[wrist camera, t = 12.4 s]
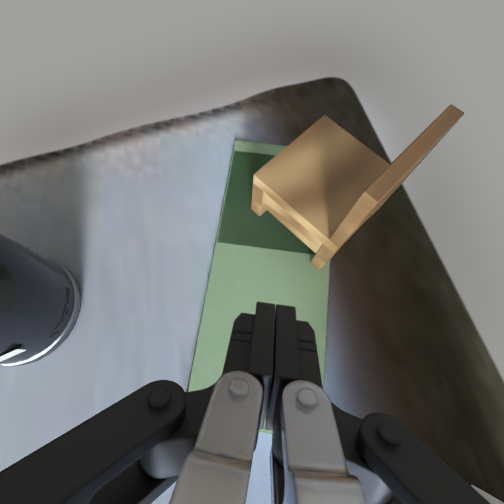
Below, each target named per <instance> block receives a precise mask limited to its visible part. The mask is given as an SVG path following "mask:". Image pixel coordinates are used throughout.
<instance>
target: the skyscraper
mask: <svg viewBox="0 0 504 504" xmlns="http://www.w3.org/2000/svg"><path fill="white" fill-rule="evenodd" d="M471 486H472V487H473V488H474V489H475V490H476V491H477V492H478V493H479V494H481V495H482V496H483V497H484V498H485V499H486V500H487V501H488V502H489V503H490V504H504V503H503V502H502V501H500V500H498V499H496V498H495V497H493V496H491V495H489V494H488V493H486V492H484V491H482V490H481V489H479V488H477V487H475V486H474V485H471Z"/></svg>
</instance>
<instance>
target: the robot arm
mask: <svg viewBox="0 0 504 504" xmlns="http://www.w3.org/2000/svg"><path fill="white" fill-rule="evenodd" d="M80 306H81V293H80V288H79V285H78V282H77V280H76V278H75V277H74V275H73V274H72V273H71V272H70V271H69V270H68V269H67V268H66V267H65V266H63V265H61V264H59V263H58V262H56V261H54V260H51V259H49V258H46V257H44V256H42V255H40V254H38V253H36V252H34V251H33V250H31V249H29V248H27V247H25V246H23V245H21V244H19V243H17V242H15V241H13V240H11V239H9V238H8V237H6V236H4V235H2V234H0V365H3V366H4V365H24V364H28V363H31V362H34V361H37V360H39V359H41V358H43V357H45V356H47V355H48V354H50V353H51V352H52V351H54V350H55V349H56V348H57V347H58V346H60V345H61V344H62V343H63V341H64V340H65V339H66V338H67V337H68V335H69V334H70V332H71V331H72V329H73V327H74V325H75V323H76V321H77V318H78V315H79V312H80ZM265 416H266V423H265V430H272V431H273V434H272V447H271V452H270V476H271V503H272V504H490V503H489V502H488V501H487V500H486V499H485V498H484V497H483V496H482V495H481V494H479V493H478V492H477V491H476V490H475V489H474V488H473V487H472V486H471V485H470V484H468V483H467V482H466V481H465V480H464V479H463V478H462V477H461V476H460V475H459V474H458V473H456V472H455V471H454V470H453V469H452V468H451V467H450V466H449V465H448V464H447V463H445V462H444V461H443V460H442V459H441V458H440V457H439V456H438V455H437V454H436V453H434V452H433V451H432V450H431V449H430V448H429V447H428V446H427V445H426V444H425V443H424V442H422V441H421V440H420V439H419V438H418V437H417V436H416V435H415V434H414V433H413V432H411V431H410V430H409V429H408V428H407V427H406V426H405V425H404V424H403V423H401V422H400V421H399V420H397V419H396V418H394V417H392V416H390V415H387V414H384V413H370V414H368V415H366V416H365V417H364V418H363V420H362V419H360V418H358V417H356V416H353V415H351V414H349V413H347V412H345V411H343V410H341V409H339V408H338V407H336V406H335V405H334V404H333V403H332V402H331V401H330V398H329V397H328V395H327V393H326V392H325V391H324V390H323V386H322V380H321V373H320V366H319V359H318V353H317V345H316V338H315V331H314V330H313V328H312V327H311V326H310V324H309V323H308V322H307V321H299V320H296V308H295V307H294V306H287V305H280V304H276V309H275V304H272V303H265V302H257V304H256V311H255V314H248V313H241V314H240V315H239V316H238V317H237V318H236V319H235V320H234V323H233V328H232V332H231V336H230V341H229V345H228V350H227V354H226V359H225V363H224V367H223V372H222V375H221V376H220V378H219V379H218V380H217V382H216V383H214V384H213V385H212V386H210V387H208V388H205V389H202V390H197V391H190V392H184V390H183V389H182V387H181V386H180V385H178V384H177V383H175V382H172V381H168V380H158V381H154V382H151V383H149V384H147V385H145V386H143V387H142V388H140V389H138V390H137V391H135V392H133V393H132V394H130V395H128V396H127V397H125V398H123V399H122V400H120V401H118V402H117V403H115V404H113V405H111V406H110V407H108V408H106V409H105V410H103V411H101V412H100V413H98V414H96V415H95V416H93V417H91V418H90V419H88V420H86V421H85V422H83V423H81V424H80V425H78V426H76V427H75V428H73V429H71V430H70V431H68V432H66V433H65V434H63V435H61V436H60V437H58V438H56V439H55V440H53V441H51V442H50V443H48V444H46V445H45V446H43V447H41V448H40V449H38V450H36V451H34V452H33V453H31V454H29V455H28V456H26V457H24V458H23V459H21V460H19V461H18V462H16V463H14V464H13V465H11V466H9V467H8V468H6V469H4V470H3V471H1V472H0V504H151V503H152V502H153V501H154V500H155V499H156V498H157V497H159V496H160V495H161V494H162V493H163V492H164V491H165V490H166V489H168V488H169V487H170V486H171V485H172V484H173V483H174V482H175V481H176V480H177V482H176V485H175V488H174V491H173V494H172V496H171V499H170V502H169V504H245V502H246V496H247V490H248V484H249V477H250V471H251V465H252V458H253V452H254V451H255V448H256V444H257V438H258V433H259V429H263V427H264V421H265Z"/></svg>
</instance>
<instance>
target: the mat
mask: <svg viewBox="0 0 504 504" xmlns="http://www.w3.org/2000/svg"><path fill="white" fill-rule="evenodd" d="M286 147H287V146H281V145H272V144H263V143H254V142H246V141H237V140H235V144H234V150H233V155H232V160H231V165H230V171H229V176H228V181H227V187H226V192H225V197H224V202H223V208H222V213H221V218H220V224H219V229H218V234H217V239H216V245H215V250H214V255H213V261H212V266H211V271H210V277H209V282H208V287H207V292H206V298H205V303H204V308H203V314H202V319H201V324H200V329H199V335H198V340H197V345H196V351H195V356H194V361H193V367H192V372H191V377H190V382H189V388H188V392H190V391H197V390H202V389H205V388H208V387H210V386H212V385H213V384H214V383H216V382H217V380H218V379H219V378H220V376H221V375H222V372H223V367H224V363H225V359H226V354H227V350H228V345H229V341H230V336H231V332H232V328H233V323H234V320H235V319H236V318H237V317H238V316H239V315H240V314H241V313H248V314H255V311H256V304H257V302H265V303H272V304H275V309H276V304H280V305H287V306H294V307H295V308H296V320H299V321H307V322H308V323H309V324H310V326H311V327H312V328H313V330H314V331H315V338H316V345H317V353H318V359H319V366H320V373H321V380H322V386H323V387H324V368H325V349H326V330H327V311H328V292H329V273H330V260H329V261H328V263H327V264H326V265H325V266H324V267H323V268H322V269H321V270H320V271H319V270H318V269H317V268H316V267H315V266H314V265H312V264H311V263H310V262H311V260H312V259H313V257H314V256H315V254H316V253H315V252H314V251H312V250H311V249H310V248H309V247H308V246H307V245H306V244H305V243H303V242H302V241H301V240H300V239H299V238H298V237H297V236H296V235H294V234H293V233H292V232H291V231H290V230H289V229H288V228H287V227H286V226H284V225H283V224H282V223H281V222H280V221H279V220H278V219H277V218H275V217H274V216H273V215H272V214H271V213H270V212H269V211H268V210H266V211H265V212H264V213H263V214H262V215H261V216H260V217H259V216H258V215H257V214H256V213H255V212H254V211H253V210H251V203H252V190H253V177H254V174H255V173H256V172H257V171H258V170H260V169H261V168H262V167H263V166H264V165H266V164H267V163H268V162H269V161H270V160H271V159H273V158H274V157H275V156H276V155H277V154H279V153H280V152H281V151H282V150H283V149H285V148H286ZM265 423H266V416H265V421H264V427H263V429H259V432H263V433H270V434H273V431H272V430H265Z"/></svg>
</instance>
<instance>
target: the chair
mask: <svg viewBox="0 0 504 504" xmlns="http://www.w3.org/2000/svg"><path fill="white" fill-rule="evenodd" d="M463 115H464V112H462V111H461V110H459V109H458V108H456V107H455V106H453V105H450V106H449V107H448V108H447V109H446V110H445V111H444V112H443V113H442V114H441V115H440V116H439V117H437V119H436V120H434V122H432V123H431V124H430V125H429V126H428V128H426V129H425V131H424V132H422V133H421V134H420V136H418V137H417V139H415V140H414V141H413V142H412V144H410V145H409V146H408V147H407V149H405V150H404V152H403V153H401V154H400V155H399V156H398V157H397V158H396V159H395V160H394V161H393V162H392V163H391V164H389V163H387V162H386V161H385V160H383V159H382V158H381V157H379V156H378V155H377V154H375V153H374V152H373V151H371V150H370V149H369V148H367V147H366V146H365V145H364V144H362V143H361V142H360V141H358V140H357V139H356V138H354V137H353V136H352V135H350V134H349V133H348V132H346V131H345V130H344V129H342V128H341V127H340V126H338V125H337V124H336V123H335V122H333V121H332V120H331V119H329V118H328V117H327V116H325V115H324V116H323V117H321V118H320V119H319V120H318V121H317V122H315V123H314V124H313V125H312V126H311V127H310V128H308V129H307V130H306V131H305V132H304V133H302V134H301V135H300V136H299V137H298V138H296V139H295V140H294V141H293V142H292V143H291V144H289V145H288V146H287V147H286V148H285V149H283V150H282V151H281V152H280V153H279V154H277V155H276V156H275V157H274V158H273V159H271V160H270V161H269V162H268V163H267V164H266V165H264V166H263V167H262V168H261V169H260V170H258V171H257V172H256V173H255V174H254V177H253V190H252V203H251V210H253V211H254V212H255V213H256V214H257V215H258V216H259V217H260V216H261V215H262V214H263V213H264V212H265V211H266V210H268V211H269V212H270V213H271V214H272V215H273V216H274V217H275V218H277V219H278V220H279V221H280V222H281V223H282V224H283V225H284V226H286V227H287V228H288V229H289V230H290V231H291V232H292V233H293V234H294V235H296V236H297V237H298V238H299V239H300V240H301V241H302V242H303V243H305V244H306V245H307V246H308V247H309V248H310V249H311V250H312V251H314V252H315V253H316V254H315V256H314V257H313V259H312V260H311V262H310V263H311V264H312V265H314V266H315V267H316V268H317V269H318V270H319V271H320V270H321V269H322V268H323V267H324V266H325V265H326V264H327V263H328V261H329V260H330V259H331V258H332V257H333V256H334V255H335V253H336V252H337V251H338V250H339V249H340V248H341V246H342V245H343V244H344V243H345V242H346V241H347V240H348V239H349V238H350V237H351V236H352V235H353V234H354V233H355V232H356V231H357V230H358V229H359V228H360V226H361V225H362V224H363V223H364V222H365V221H366V220H367V219H368V218H371V217H372V216H373V215H374V214H375V213H376V211H377V210H378V209H379V208H380V207H381V206H382V205H383V204H384V203H385V201H386V200H387V199H388V198H389V197H390V196H391V195H392V194H393V193H394V191H395V190H396V189H397V188H398V187H399V186H400V185H401V184H402V183H403V181H404V180H405V179H406V178H407V177H408V176H409V175H410V174H411V172H412V171H413V170H414V169H415V168H416V167H417V166H418V165H419V164H420V162H421V161H422V160H423V159H424V158H425V157H426V156H427V154H428V153H429V152H430V151H431V150H432V149H433V148H434V147H435V146H436V145H437V144H438V142H439V141H440V140H441V139H442V138H443V137H444V136H445V134H446V133H447V132H448V131H449V130H450V129H451V128H452V126H454V125H455V123H456V122H457V121H458V120H459V119H460V118H461V117H462V116H463Z"/></svg>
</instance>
